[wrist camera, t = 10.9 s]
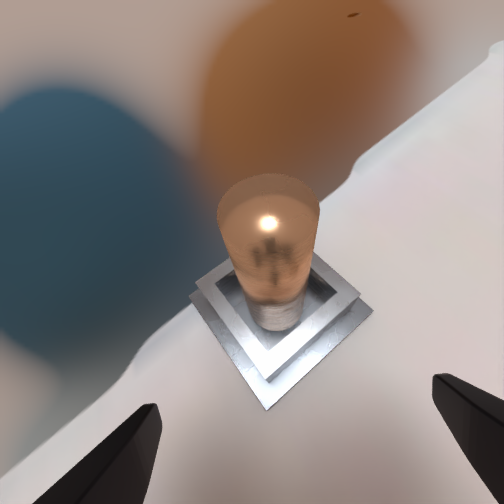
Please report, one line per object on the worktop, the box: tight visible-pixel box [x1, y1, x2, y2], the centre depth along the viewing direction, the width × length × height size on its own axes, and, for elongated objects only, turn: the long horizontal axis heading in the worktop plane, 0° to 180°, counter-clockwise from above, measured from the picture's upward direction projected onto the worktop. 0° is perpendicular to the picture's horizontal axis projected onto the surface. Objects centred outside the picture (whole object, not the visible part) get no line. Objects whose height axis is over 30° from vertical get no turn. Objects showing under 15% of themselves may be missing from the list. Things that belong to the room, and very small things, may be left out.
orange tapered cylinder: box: [217, 174, 320, 331], centre depth 18 cm, size 5×5×13 cm
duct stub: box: [189, 252, 374, 411], centre depth 22 cm, size 12×12×4 cm
